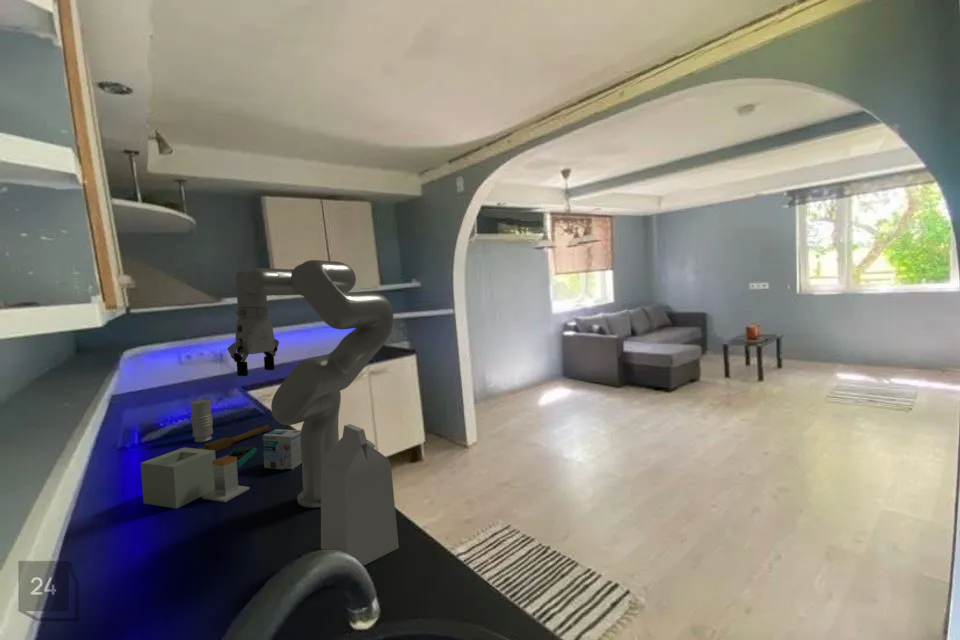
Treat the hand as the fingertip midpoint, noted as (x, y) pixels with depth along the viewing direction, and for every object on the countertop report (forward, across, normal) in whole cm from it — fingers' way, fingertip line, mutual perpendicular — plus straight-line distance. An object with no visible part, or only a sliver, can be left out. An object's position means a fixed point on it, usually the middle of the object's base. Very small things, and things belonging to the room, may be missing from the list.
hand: (256, 372), depth 125 cm
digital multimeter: (+33, +11, +22) cm, 41 cm away
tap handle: (+33, +26, +39) cm, 57 cm away
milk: (+32, -22, -47) cm, 61 cm away
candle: (+32, +26, +55) cm, 69 cm away
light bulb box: (+33, +12, +3) cm, 35 cm away
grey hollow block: (+32, -13, +16) cm, 38 cm away
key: (+32, -9, +4) cm, 33 cm away
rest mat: (+32, -9, +4) cm, 34 cm away
